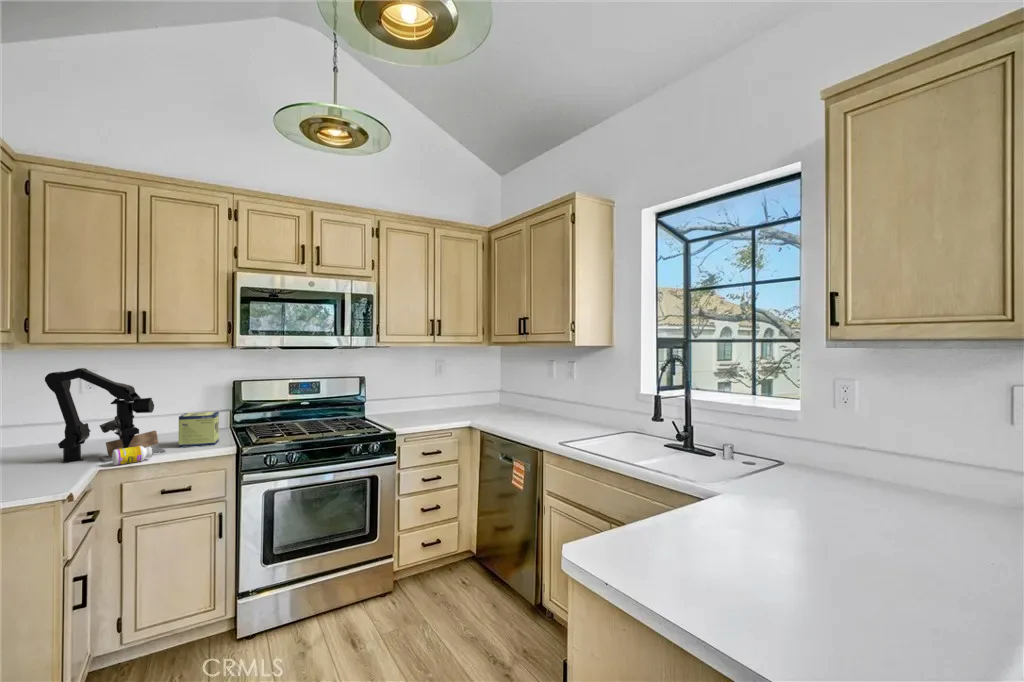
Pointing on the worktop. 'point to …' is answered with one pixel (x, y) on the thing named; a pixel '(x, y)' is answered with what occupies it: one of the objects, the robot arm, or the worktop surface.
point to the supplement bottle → (130, 455)
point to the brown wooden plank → (134, 441)
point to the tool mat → (109, 458)
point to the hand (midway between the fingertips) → (125, 448)
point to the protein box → (198, 429)
